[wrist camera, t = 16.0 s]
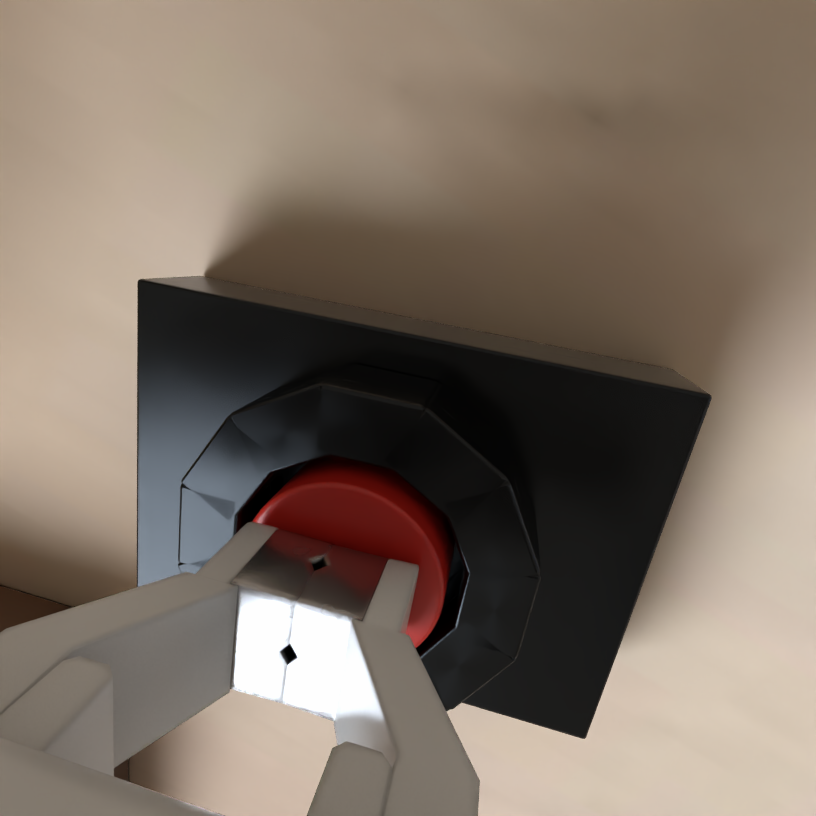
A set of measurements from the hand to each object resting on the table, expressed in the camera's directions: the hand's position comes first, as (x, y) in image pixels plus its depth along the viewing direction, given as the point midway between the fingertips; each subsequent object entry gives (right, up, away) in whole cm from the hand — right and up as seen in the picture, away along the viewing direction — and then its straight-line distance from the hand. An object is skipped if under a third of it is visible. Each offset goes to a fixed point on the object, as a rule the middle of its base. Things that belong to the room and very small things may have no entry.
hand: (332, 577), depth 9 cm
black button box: (+1, +1, +4) cm, 4 cm away
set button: (0, 0, +2) cm, 2 cm away
